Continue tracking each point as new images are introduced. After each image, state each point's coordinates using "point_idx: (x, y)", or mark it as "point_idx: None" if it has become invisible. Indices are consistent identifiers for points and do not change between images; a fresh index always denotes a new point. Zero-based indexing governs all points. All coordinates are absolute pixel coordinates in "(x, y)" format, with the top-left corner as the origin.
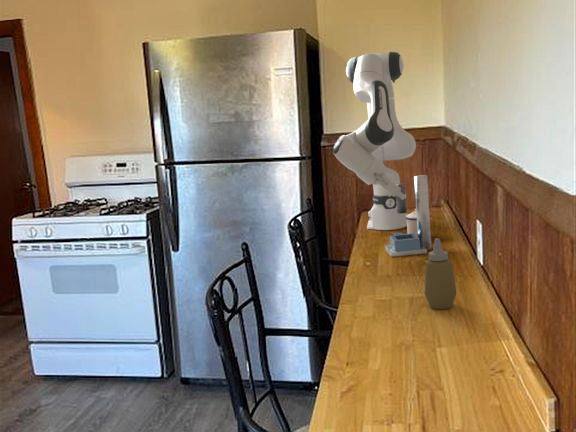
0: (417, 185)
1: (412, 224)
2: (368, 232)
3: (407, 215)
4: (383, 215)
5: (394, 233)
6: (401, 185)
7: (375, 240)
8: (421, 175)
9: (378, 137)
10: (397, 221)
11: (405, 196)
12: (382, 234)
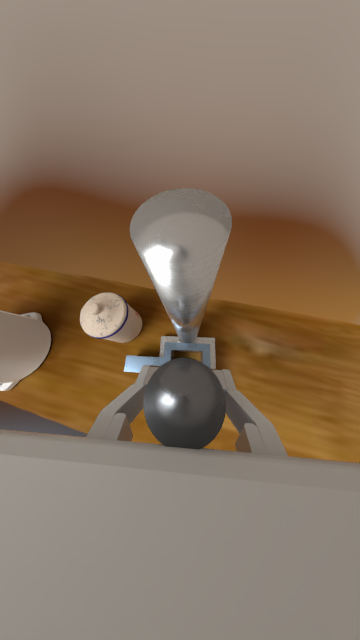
0: (206, 289)
1: (123, 332)
2: (32, 394)
3: (95, 333)
4: (3, 362)
5: (129, 371)
6: (224, 399)
7: (94, 397)
8: (150, 212)
9: None
10: (34, 337)
11: (229, 371)
12: (63, 373)
